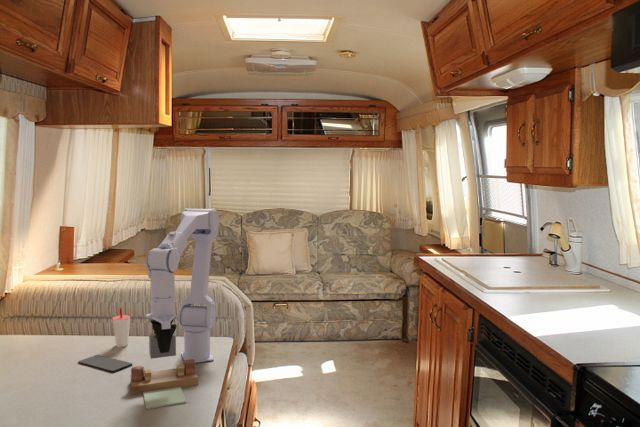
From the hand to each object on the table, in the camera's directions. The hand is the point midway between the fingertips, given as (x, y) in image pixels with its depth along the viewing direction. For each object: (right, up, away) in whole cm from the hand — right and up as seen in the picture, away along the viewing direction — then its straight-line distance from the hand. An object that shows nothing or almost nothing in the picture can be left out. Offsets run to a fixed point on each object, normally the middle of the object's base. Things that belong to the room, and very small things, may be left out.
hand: (163, 349), depth 129 cm
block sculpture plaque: (-1, -10, +4) cm, 10 cm away
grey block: (0, -1, 0) cm, 1 cm away
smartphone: (-22, -9, +16) cm, 29 cm away
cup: (-23, -7, +32) cm, 40 cm away
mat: (+2, -11, -5) cm, 12 cm away
